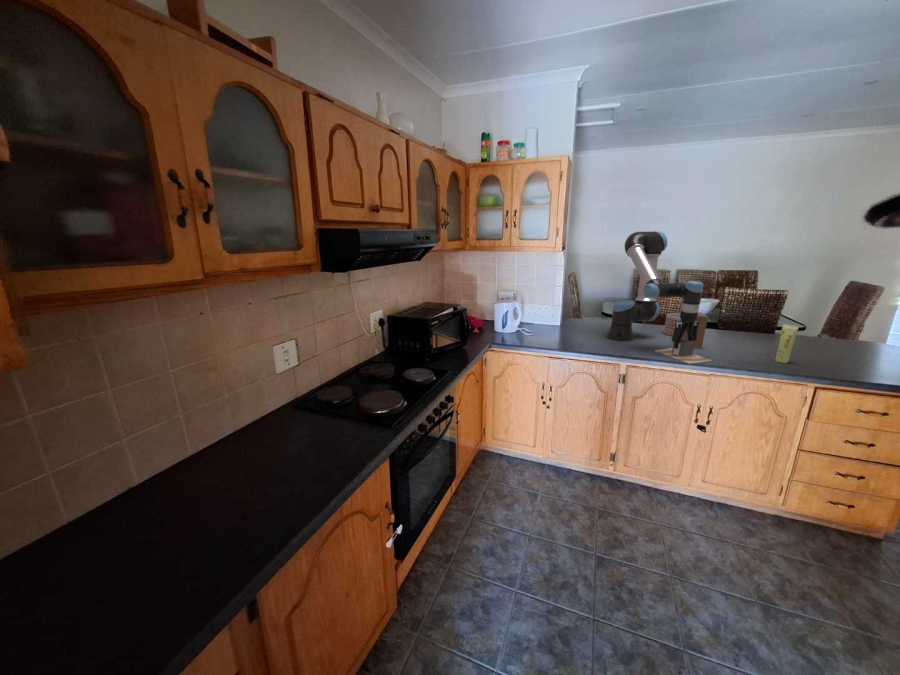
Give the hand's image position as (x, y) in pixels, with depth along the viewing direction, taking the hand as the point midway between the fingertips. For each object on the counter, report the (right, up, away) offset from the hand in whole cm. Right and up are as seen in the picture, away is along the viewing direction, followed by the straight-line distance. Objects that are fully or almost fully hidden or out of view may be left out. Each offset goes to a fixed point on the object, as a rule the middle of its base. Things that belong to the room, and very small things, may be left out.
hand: (681, 353), depth 190 cm
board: (0, -2, 0) cm, 2 cm away
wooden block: (+15, +3, +16) cm, 22 cm away
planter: (+24, +10, +42) cm, 49 cm away
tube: (+46, -4, -8) cm, 47 cm away
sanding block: (0, -1, 0) cm, 1 cm away
